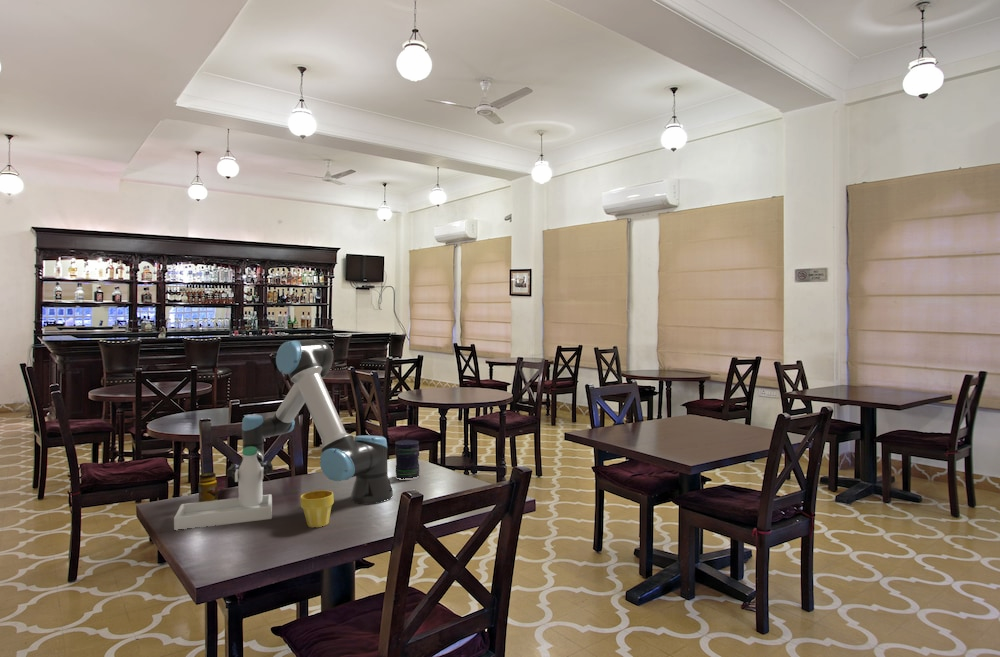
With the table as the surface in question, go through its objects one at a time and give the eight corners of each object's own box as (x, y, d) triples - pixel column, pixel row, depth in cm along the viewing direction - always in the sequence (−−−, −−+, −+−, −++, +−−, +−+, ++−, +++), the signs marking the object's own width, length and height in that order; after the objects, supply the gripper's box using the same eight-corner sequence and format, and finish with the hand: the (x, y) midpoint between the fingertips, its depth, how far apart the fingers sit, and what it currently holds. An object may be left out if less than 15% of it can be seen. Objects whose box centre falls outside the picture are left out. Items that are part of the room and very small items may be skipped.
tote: (271, 505, 218) (271, 494, 218) (271, 518, 203) (271, 506, 203) (181, 515, 208) (181, 504, 208) (174, 530, 193) (173, 518, 193)
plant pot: (294, 528, 193) (293, 497, 193) (313, 518, 203) (312, 489, 203) (322, 531, 190) (321, 500, 190) (340, 520, 200) (339, 490, 200)
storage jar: (424, 477, 253) (423, 441, 252) (405, 482, 246) (404, 445, 245) (409, 473, 259) (408, 438, 259) (390, 478, 252) (390, 442, 252)
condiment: (220, 507, 216) (219, 474, 216) (193, 512, 211) (192, 478, 211) (216, 502, 222) (216, 470, 222) (191, 507, 217) (190, 474, 217)
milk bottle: (266, 502, 211) (266, 449, 207) (245, 510, 206) (244, 455, 201) (255, 494, 216) (255, 442, 212) (234, 501, 210) (233, 448, 206)
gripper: (281, 469, 229) (281, 484, 208) (222, 474, 222) (216, 491, 201) (280, 449, 229) (280, 462, 208) (222, 454, 222) (215, 468, 201)
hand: (249, 476), depth 204 cm, fingers closed on milk bottle, 7 cm apart
